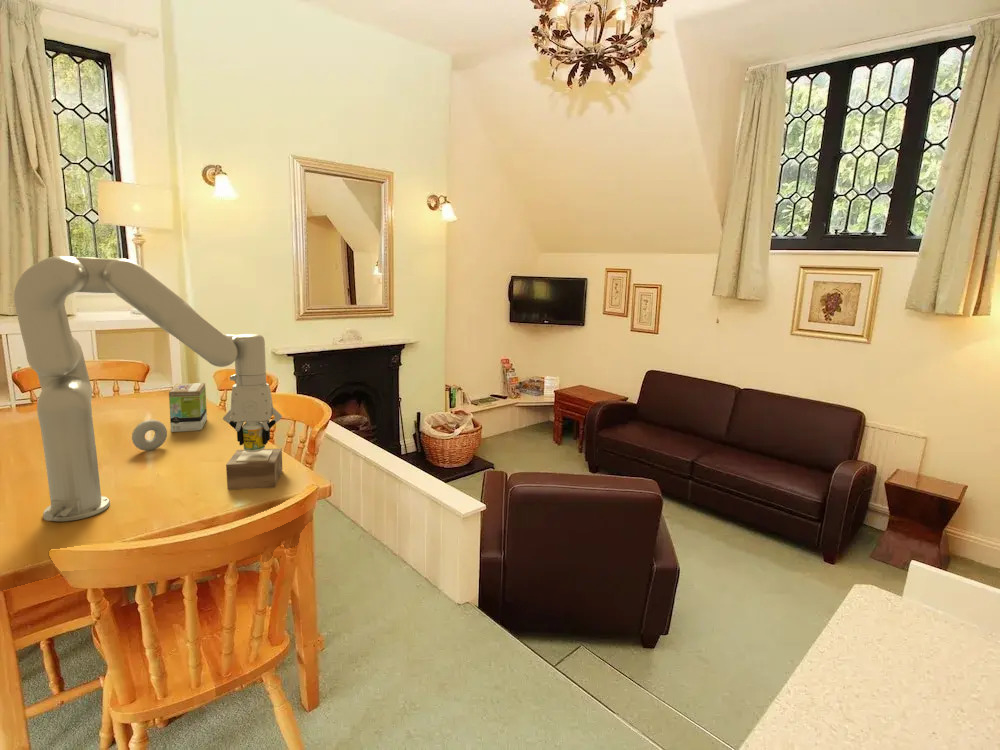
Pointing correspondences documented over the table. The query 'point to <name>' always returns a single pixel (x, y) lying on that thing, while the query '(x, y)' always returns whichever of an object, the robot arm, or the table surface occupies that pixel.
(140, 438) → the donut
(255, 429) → the supplement bottle
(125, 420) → the table surface
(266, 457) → the walnut block
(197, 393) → the tea box
